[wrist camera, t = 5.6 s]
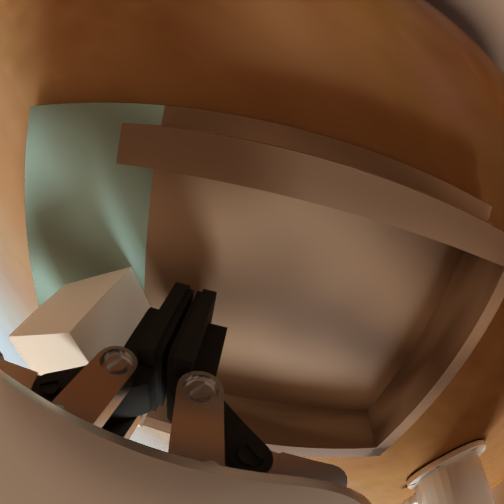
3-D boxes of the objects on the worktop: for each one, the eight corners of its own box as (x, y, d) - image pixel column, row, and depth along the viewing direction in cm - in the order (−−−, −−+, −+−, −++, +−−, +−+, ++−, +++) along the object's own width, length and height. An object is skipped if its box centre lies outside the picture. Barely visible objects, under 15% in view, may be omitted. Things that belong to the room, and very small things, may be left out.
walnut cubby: (363, 416, 16) (373, 460, 13) (57, 342, 16) (29, 376, 12) (480, 201, 10) (532, 227, 7) (43, 106, 10) (-13, 108, 6)
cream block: (174, 351, 14) (141, 426, 9) (106, 355, 14) (68, 414, 10) (131, 266, 12) (69, 332, 7) (65, 284, 13) (8, 336, 8)
